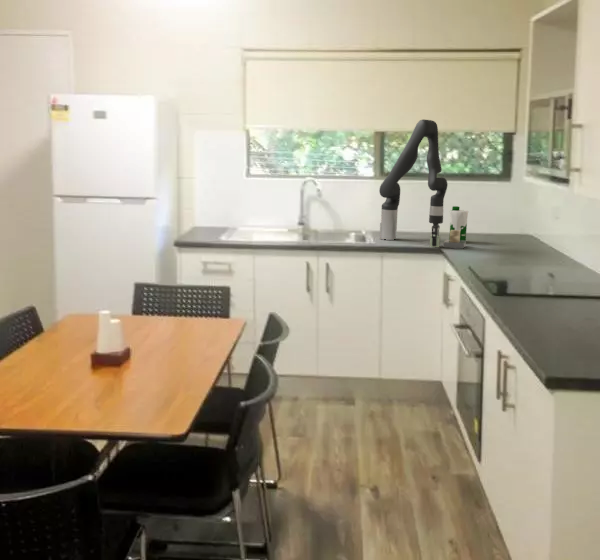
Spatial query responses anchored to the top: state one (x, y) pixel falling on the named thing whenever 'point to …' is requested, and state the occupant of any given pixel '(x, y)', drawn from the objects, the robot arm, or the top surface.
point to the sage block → (436, 241)
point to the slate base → (454, 244)
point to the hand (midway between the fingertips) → (434, 244)
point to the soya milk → (458, 221)
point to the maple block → (454, 235)
